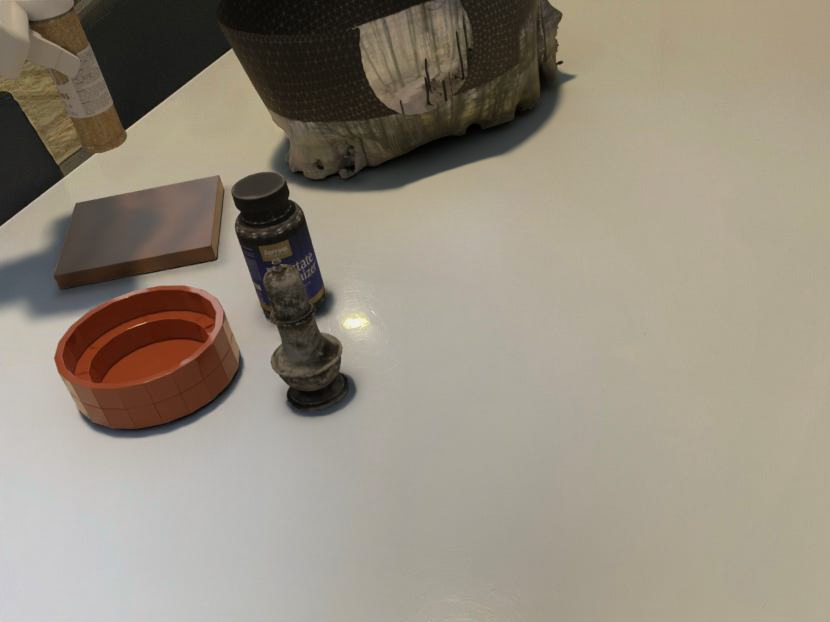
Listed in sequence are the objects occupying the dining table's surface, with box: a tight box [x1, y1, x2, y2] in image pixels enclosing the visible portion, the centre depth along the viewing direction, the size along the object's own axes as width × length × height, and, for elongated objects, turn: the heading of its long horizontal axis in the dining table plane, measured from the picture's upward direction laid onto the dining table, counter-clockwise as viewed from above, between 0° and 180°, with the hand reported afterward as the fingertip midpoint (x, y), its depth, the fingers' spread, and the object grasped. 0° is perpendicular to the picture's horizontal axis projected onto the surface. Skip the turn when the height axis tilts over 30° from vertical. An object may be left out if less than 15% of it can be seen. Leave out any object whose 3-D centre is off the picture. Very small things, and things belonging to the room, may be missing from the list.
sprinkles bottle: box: [16, 0, 128, 155], centre depth 88 cm, size 5×5×14 cm
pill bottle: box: [230, 171, 327, 317], centre depth 84 cm, size 6×6×11 cm
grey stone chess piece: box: [263, 257, 350, 412], centre depth 75 cm, size 6×6×12 cm
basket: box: [215, 0, 564, 180], centre depth 102 cm, size 28×35×16 cm
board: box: [53, 174, 225, 290], centre depth 100 cm, size 16×15×2 cm
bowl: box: [53, 284, 240, 430], centre depth 82 cm, size 14×14×4 cm
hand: (76, 57), depth 87 cm, fingers closed on sprinkles bottle, 4 cm apart
